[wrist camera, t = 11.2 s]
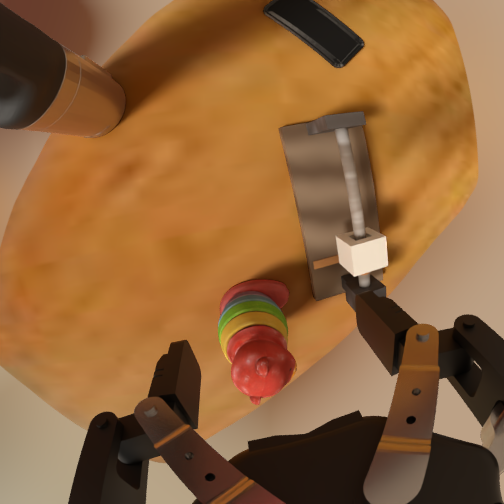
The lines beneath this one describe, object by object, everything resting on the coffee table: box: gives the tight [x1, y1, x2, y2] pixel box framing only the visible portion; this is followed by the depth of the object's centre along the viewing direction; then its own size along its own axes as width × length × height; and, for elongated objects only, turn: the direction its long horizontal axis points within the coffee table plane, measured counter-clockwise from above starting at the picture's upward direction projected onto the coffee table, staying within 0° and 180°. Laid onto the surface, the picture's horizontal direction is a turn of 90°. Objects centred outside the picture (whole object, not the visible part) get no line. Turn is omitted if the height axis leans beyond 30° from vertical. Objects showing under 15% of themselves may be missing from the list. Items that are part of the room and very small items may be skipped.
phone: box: [264, 0, 364, 68], centre depth 31 cm, size 8×1×15 cm
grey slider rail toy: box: [279, 111, 386, 312], centre depth 36 cm, size 26×12×9 cm, turn 14°
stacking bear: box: [218, 279, 297, 405], centre depth 35 cm, size 11×10×18 cm
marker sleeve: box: [336, 227, 388, 277], centre depth 35 cm, size 4×5×5 cm
